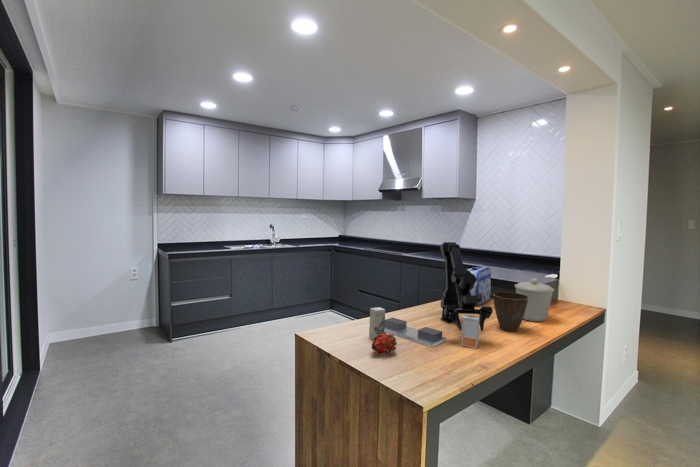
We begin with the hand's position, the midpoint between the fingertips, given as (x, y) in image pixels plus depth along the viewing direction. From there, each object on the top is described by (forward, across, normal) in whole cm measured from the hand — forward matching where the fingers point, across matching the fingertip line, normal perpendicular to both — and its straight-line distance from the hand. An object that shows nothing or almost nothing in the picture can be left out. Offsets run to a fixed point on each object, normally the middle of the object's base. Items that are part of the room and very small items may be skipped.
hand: (471, 330), depth 143 cm
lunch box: (-47, +26, +56) cm, 78 cm away
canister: (-25, +44, +34) cm, 61 cm away
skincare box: (+4, 0, +6) cm, 7 cm away
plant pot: (-12, +25, +22) cm, 35 cm away
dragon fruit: (+12, -36, -2) cm, 38 cm away
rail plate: (-3, -22, +12) cm, 26 cm away
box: (+1, -38, +9) cm, 39 cm away
